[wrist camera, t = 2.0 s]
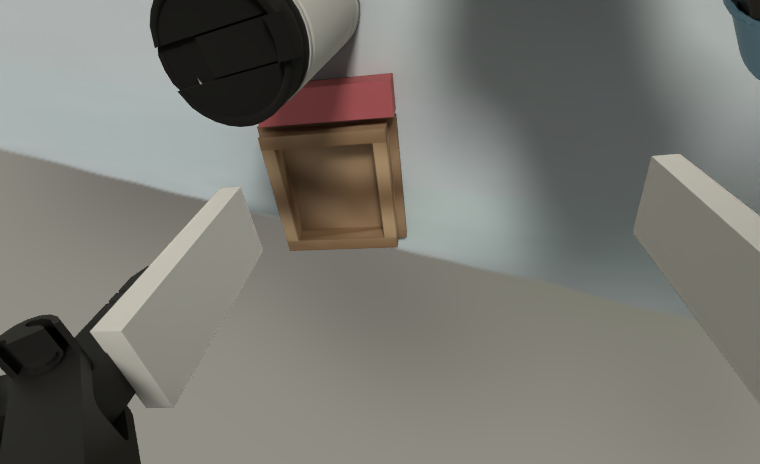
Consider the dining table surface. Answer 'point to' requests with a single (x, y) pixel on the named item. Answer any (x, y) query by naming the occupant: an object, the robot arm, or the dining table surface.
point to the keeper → (337, 183)
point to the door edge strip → (338, 101)
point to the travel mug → (247, 51)
